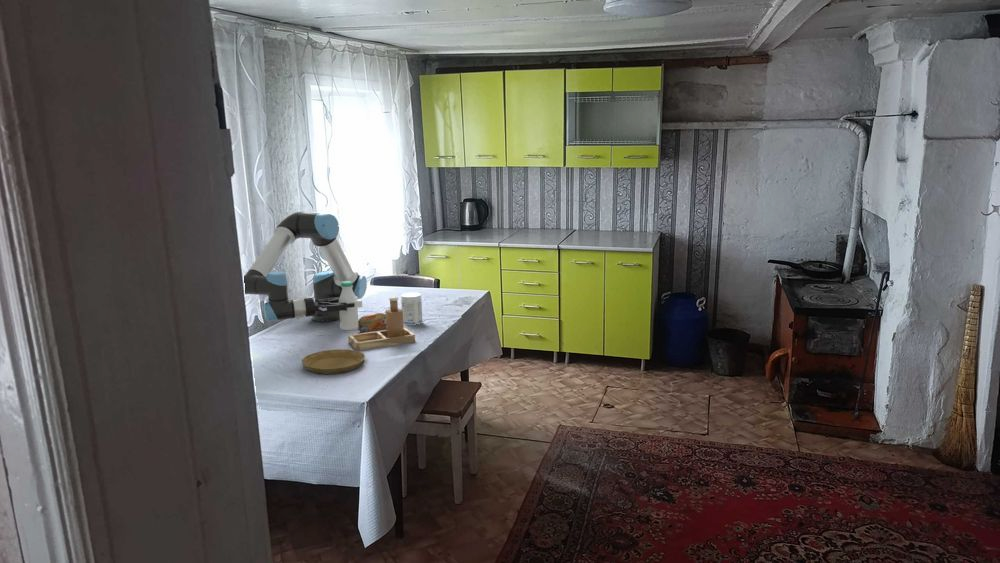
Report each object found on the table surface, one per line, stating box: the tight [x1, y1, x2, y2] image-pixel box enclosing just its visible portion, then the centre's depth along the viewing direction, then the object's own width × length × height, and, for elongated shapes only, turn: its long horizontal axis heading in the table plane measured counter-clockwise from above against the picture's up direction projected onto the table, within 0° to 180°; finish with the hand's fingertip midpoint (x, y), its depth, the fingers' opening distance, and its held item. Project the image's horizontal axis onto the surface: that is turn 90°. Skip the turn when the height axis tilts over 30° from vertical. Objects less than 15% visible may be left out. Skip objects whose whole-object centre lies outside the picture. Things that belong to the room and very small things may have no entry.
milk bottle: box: [338, 281, 359, 331], centre depth 282 cm, size 8×8×20 cm
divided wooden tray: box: [348, 326, 416, 351], centre depth 290 cm, size 13×26×4 cm, turn 117°
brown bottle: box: [384, 296, 405, 338], centre depth 291 cm, size 8×8×19 cm
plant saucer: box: [301, 348, 366, 375], centre depth 264 cm, size 24×24×3 cm
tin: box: [357, 312, 386, 333], centre depth 308 cm, size 15×3×8 cm, turn 129°
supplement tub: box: [400, 292, 423, 326], centre depth 319 cm, size 10×10×15 cm
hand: (359, 301), depth 283 cm, fingers closed on milk bottle, 7 cm apart
